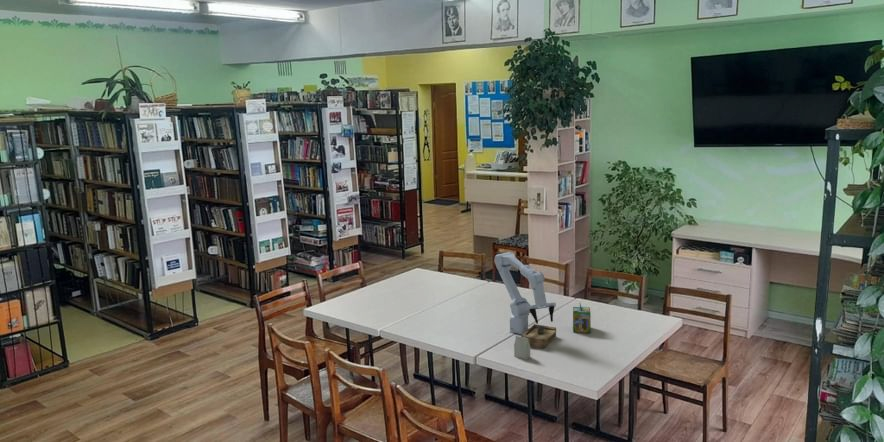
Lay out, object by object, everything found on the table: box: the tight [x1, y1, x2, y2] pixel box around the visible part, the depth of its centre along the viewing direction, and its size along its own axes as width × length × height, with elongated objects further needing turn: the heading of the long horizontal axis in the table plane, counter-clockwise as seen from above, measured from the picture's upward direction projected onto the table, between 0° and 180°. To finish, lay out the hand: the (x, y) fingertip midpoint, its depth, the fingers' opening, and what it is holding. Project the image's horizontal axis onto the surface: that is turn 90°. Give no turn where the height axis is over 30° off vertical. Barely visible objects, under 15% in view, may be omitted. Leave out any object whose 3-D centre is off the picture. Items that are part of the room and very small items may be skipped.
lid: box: [528, 325, 557, 341], centre depth 312 cm, size 11×15×4 cm
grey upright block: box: [513, 335, 531, 361], centre depth 294 cm, size 4×7×10 cm, turn 50°
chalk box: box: [572, 302, 592, 334], centre depth 325 cm, size 9×9×15 cm
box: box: [520, 323, 557, 350], centre depth 313 cm, size 12×18×5 cm, turn 150°
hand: (544, 322), depth 311 cm, fingers open, 7 cm apart
